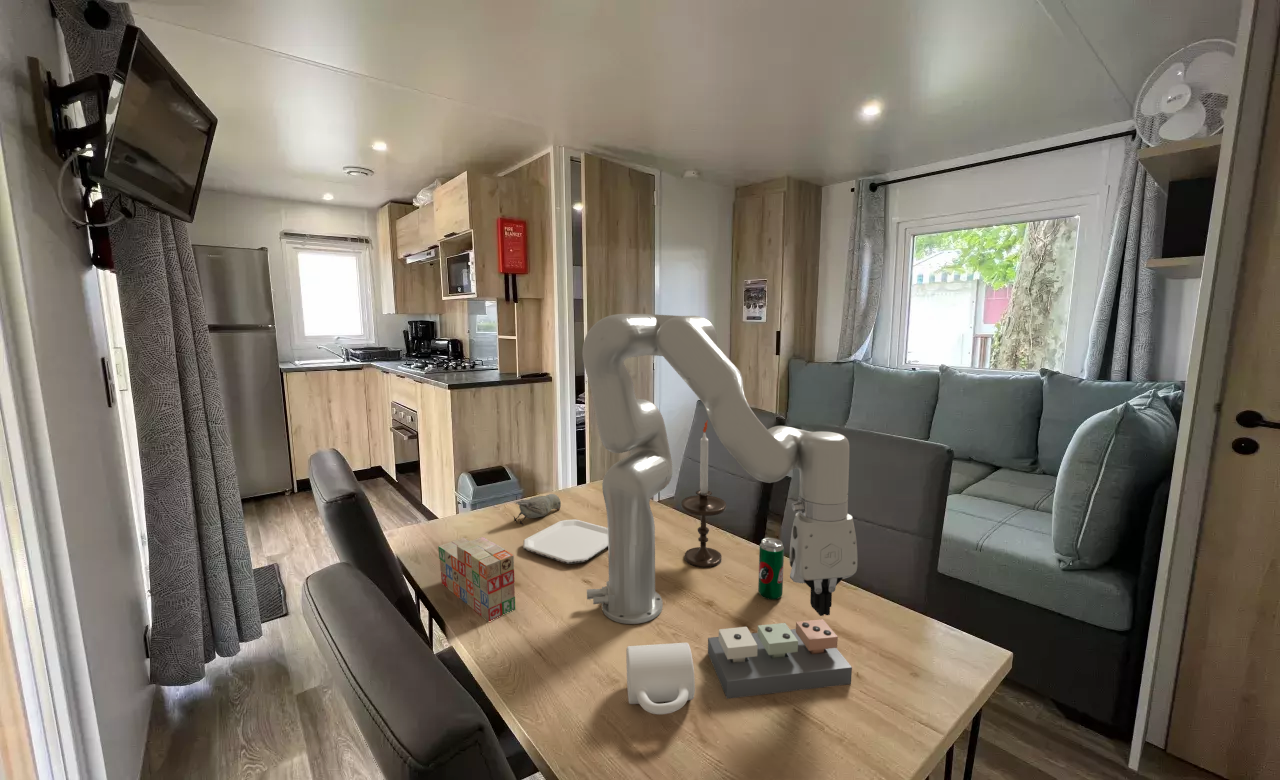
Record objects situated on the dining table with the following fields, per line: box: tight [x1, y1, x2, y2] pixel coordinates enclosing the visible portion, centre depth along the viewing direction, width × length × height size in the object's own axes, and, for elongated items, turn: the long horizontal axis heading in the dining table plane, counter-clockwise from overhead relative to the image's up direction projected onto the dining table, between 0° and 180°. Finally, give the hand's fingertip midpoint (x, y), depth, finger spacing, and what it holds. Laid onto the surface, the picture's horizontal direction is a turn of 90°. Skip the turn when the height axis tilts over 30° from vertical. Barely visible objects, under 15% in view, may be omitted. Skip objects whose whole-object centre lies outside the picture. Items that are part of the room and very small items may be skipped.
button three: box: [795, 618, 839, 654], centre depth 87 cm, size 5×5×5 cm
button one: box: [718, 626, 757, 663], centre depth 85 cm, size 5×5×5 cm
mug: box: [625, 642, 696, 715], centre depth 79 cm, size 12×10×8 cm
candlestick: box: [680, 419, 727, 569], centre depth 123 cm, size 11×11×35 cm
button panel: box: [707, 628, 853, 699], centre depth 87 cm, size 21×11×3 cm, turn 98°
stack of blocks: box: [437, 536, 516, 622], centre depth 109 cm, size 21×6×12 cm, turn 46°
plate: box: [523, 518, 608, 565], centre depth 134 cm, size 21×21×2 cm
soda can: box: [757, 537, 785, 601], centre depth 109 cm, size 5×5×12 cm
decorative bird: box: [512, 493, 562, 527], centre depth 152 cm, size 5×16×8 cm, turn 138°
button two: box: [757, 622, 798, 659], centre depth 86 cm, size 5×5×5 cm
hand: (820, 610), depth 86 cm, fingers closed
